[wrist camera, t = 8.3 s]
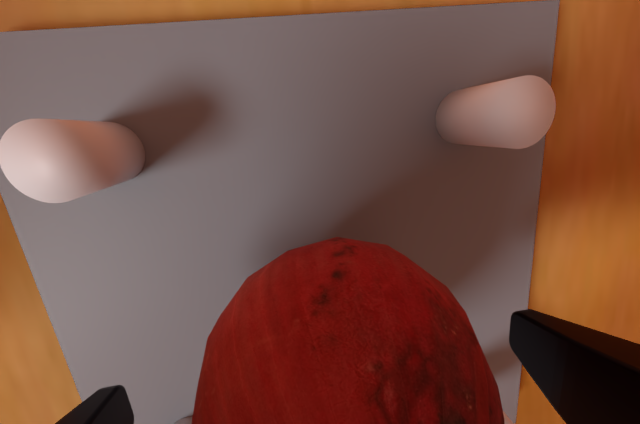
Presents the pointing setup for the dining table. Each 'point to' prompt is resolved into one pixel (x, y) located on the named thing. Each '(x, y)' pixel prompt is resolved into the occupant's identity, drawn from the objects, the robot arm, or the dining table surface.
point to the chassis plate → (269, 171)
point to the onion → (344, 345)
